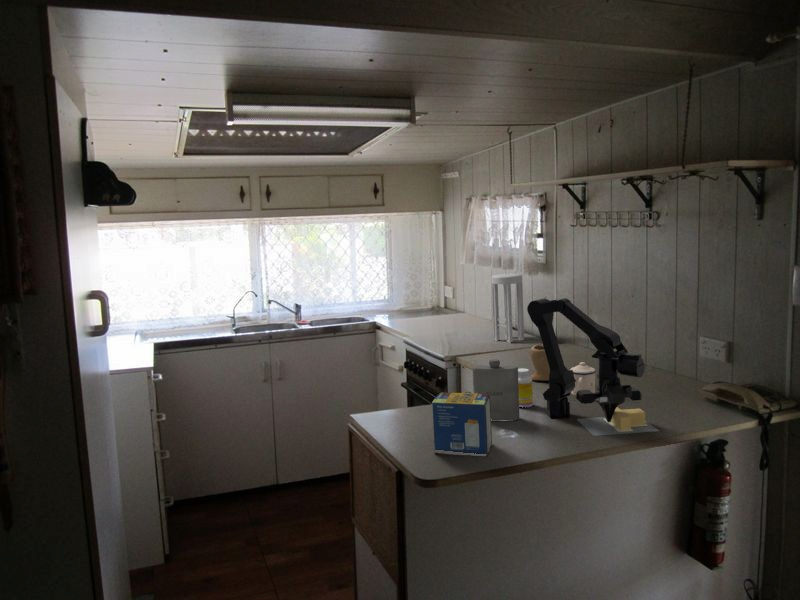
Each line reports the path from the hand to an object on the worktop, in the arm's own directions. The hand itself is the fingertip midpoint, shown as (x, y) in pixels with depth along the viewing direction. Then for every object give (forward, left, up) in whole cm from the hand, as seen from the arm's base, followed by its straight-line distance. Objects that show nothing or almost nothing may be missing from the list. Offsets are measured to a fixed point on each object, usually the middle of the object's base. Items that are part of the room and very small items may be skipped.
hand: (608, 421), depth 196 cm
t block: (+6, 0, -1) cm, 6 cm away
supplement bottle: (-20, +27, -2) cm, 34 cm away
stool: (+1, +141, -2) cm, 141 cm away
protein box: (-47, -10, -2) cm, 48 cm away
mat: (+2, 0, -1) cm, 3 cm away
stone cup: (-2, +57, -2) cm, 57 cm away
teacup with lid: (+4, +35, -2) cm, 35 cm away
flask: (-32, +15, -2) cm, 36 cm away
